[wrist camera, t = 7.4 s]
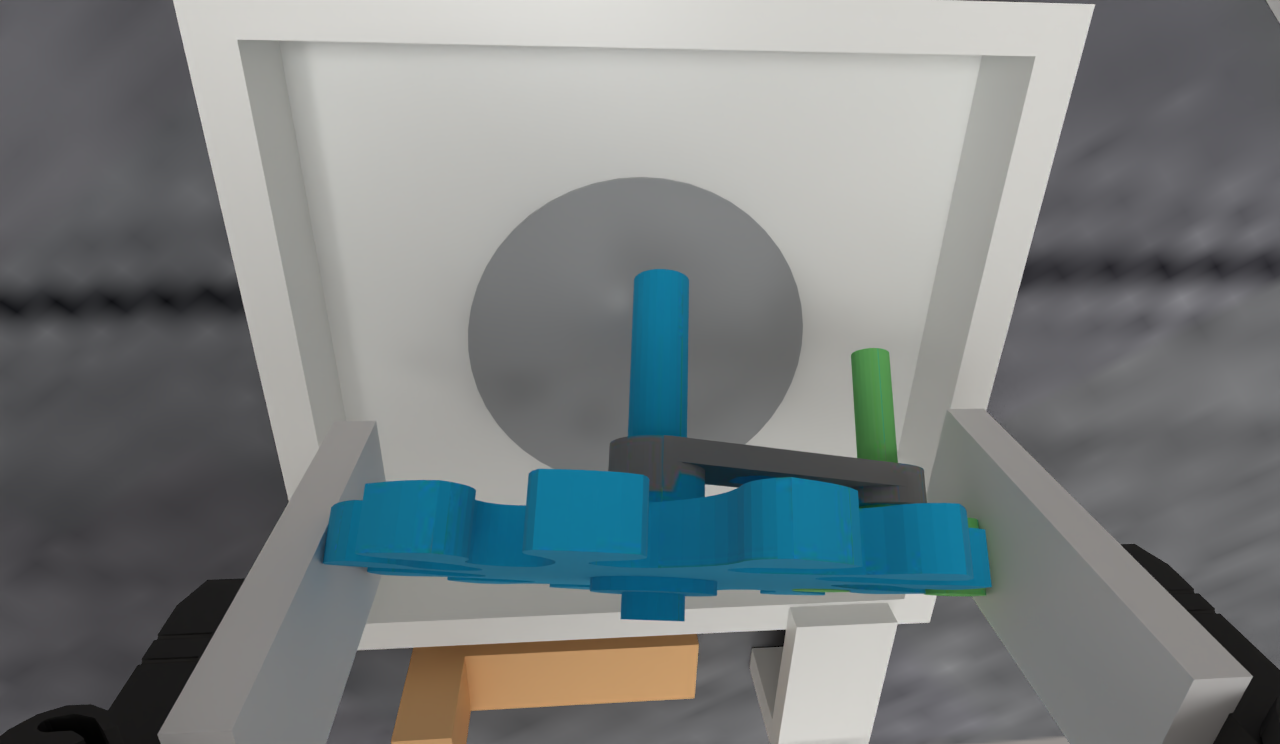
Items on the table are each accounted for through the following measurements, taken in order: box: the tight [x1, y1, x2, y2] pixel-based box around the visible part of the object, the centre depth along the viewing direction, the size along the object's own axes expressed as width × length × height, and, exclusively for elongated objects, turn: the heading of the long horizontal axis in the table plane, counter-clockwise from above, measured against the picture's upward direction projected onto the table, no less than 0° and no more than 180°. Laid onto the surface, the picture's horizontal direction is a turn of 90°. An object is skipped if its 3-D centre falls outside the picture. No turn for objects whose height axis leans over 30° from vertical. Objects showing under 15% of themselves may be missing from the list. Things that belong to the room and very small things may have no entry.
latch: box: [391, 634, 699, 744], centre depth 23 cm, size 9×2×5 cm, turn 88°
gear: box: [322, 269, 992, 621], centre depth 13 cm, size 11×6×10 cm
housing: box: [173, 0, 1095, 744], centre depth 20 cm, size 18×22×4 cm
